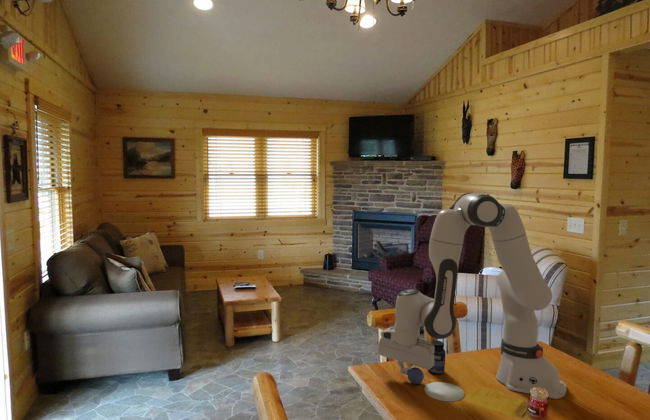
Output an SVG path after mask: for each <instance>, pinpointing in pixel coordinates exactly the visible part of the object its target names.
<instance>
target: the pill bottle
mask: <svg viewBox="0 0 650 420" xmlns="http://www.w3.org/2000/svg"><path fill="white" fill-rule="evenodd" d="M430 342H431V343H432V344H433V345H434V347H435V352H434V366H433V367H432V368H430V369H427V372H429V373H430V374H432V375H435V376H438V375H439V376H440V375H443V374H444V373H445V369H446V367H445V366H446V350H445V349H444V347H445V343H444V342H443V341H441V340H439V339H435V340H431V341H430Z"/></svg>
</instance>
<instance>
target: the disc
mask: <svg viewBox="0 0 650 420" xmlns="http://www.w3.org/2000/svg"><path fill="white" fill-rule="evenodd" d="M423 391H424V392H425V393H426V395H427V396H429V397H430V398H431V399H435V400H436V401H442V402H450V403H451V402H458V401H461V400H463V398H465V392H464V390H463V389H462V388H461V387H459V386H458V385H455V384H453V383H449V382H443V381H432V382H431V383H427V384H426V385H425V386H424V390H423Z"/></svg>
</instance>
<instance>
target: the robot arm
mask: <svg viewBox="0 0 650 420" xmlns="http://www.w3.org/2000/svg"><path fill="white" fill-rule="evenodd" d="M470 226H477V227H483V228H488V230H489V232H490V237H491V240H492V243H493V247H494V252H495V255H496V258H497V261H498V263H499V264H500V266H501V267H502V271H501V272H500V273H499V274H498V276H497V280H496V281H497V282H496V283H497V286H498V289H499V291H500V296H501V297H500V299H501V305H502V312H503V332H502V333H503V334H502V335H503V336H502V339H501V341H500V354H501V356H500V362H499V366H498V369H497V373H496V375H495V377H496V379H497V380H498V381H499V382H500V383H502V384H503V385H505V387H506V388H507V389H509V390H510V391H513V392H518V393H524V394H528V395H530V394H529V392H530V389H531V388H533V387H542V388H545V389H546V390H547V391H548V395H549V399H555V400H559V399H561V398H563V397H565V396H566V395H567V390H568V389H567V388H568V387H567V385H566V383H565V382H564V381H563V380H561V379H560V373H559V370H558V368H557V367H556V366H555V365H554V364H553V363H551V362H550V361H549V360H548V359H547V358H546V357H545V356H544V345H539V343H538V333H539V332H538V331H539V321H538V318H537V316H536V312H535V311H542V310H544V309H546V308H547V307H549V305H550V304H551V302H552V300H553V292H552V290H551V288H550V286H549V285H548V284H547V282H546V280H545V279H544V276H543V274H542V273H541V271H540V269H539V267H538V264H537V263H536V261H535V258H534V256H533V253H532V251H531V247H530V244H529V241H528V237H527V233H526V229H525V226H524V223H523V220H522V218H521V216H520V214H519V211H518V210H517V208H516V206H514V205H512V204H507V203H503V204H501V203H500V202H499V201H498V200H497V199H496V198H494V197H493V196H491V195H489V194H486V193H481V192H466V193H463V194H461V195H460V196H459V197H458V198H457V199H456V200H455V202H454V203H453V205H451V207H449V208H445V209H442V210H440V211H439V212H438V213H437V214H436V216H435V219H434V222H433V225H432V229H431V233H430V237H429V242H428V258H429V260H430V263H431V264H432V267H433V270H434V273H435V277H436V279H435V280H436V281H435V283H436V284H435V292H434V298H432V297H429V296H427V295H425V294H423V293H421V291H419V290H418V289H415V288H413V289H412V288H409V289H403V290H402V291H400V292H399V293H398V294H397V296H396V301H395V305H394V307H395V308H394V309H395V310H394V317H395V323H394V326H391V327H390V326H389V327H387V328H386V329H384V330H382V331H381V332H380V336H381V338H379V341H378V348H377V349H378V350H377V352H378V354H379V355H380V356H382V357H384V358H388V359H392V360H394V361H397V365H398V367H399V369H400V371H399V373H400V374H403V375H405V376H408V372H409V370H410V369H411V368H413V366H414V367H417V368H421V369H422V368H423V369H425V370H428V369H430V368H432V367H433V366H434V352H435V347H434V345H433V344H432V343H431V341H429V340H425V339H421V338H420V336H421V335H420V332H421V327H424V328H425V331H426V333H427V334H428V335H429V336H430V337H431V338H433V339H435V340H445V339H446V338H449V337H450V336H451V335H453V333H454V332H455V331H456V329H457V320H456V315H455V310H454V307H455V300H456V299H455V298H456V289H457V282H458V273H459V265H460V261H461V255H462V252H463V251H462V250H463V246H464V239H465V238H464V237H465V233H467V230H468V229H469V227H470ZM404 363H405V364H406V366H407V367H405V366H404Z"/></svg>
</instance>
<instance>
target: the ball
mask: <svg viewBox="0 0 650 420" xmlns="http://www.w3.org/2000/svg"><path fill="white" fill-rule="evenodd" d="M424 378H425V375H424V372H423V370H422V368H421V369H420V367H418V366H414V367H411V368H410V370H409V372H408V375H407V379H408V381H409V382H410V383H412V385H419V384H422V382H423V380H424Z"/></svg>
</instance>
